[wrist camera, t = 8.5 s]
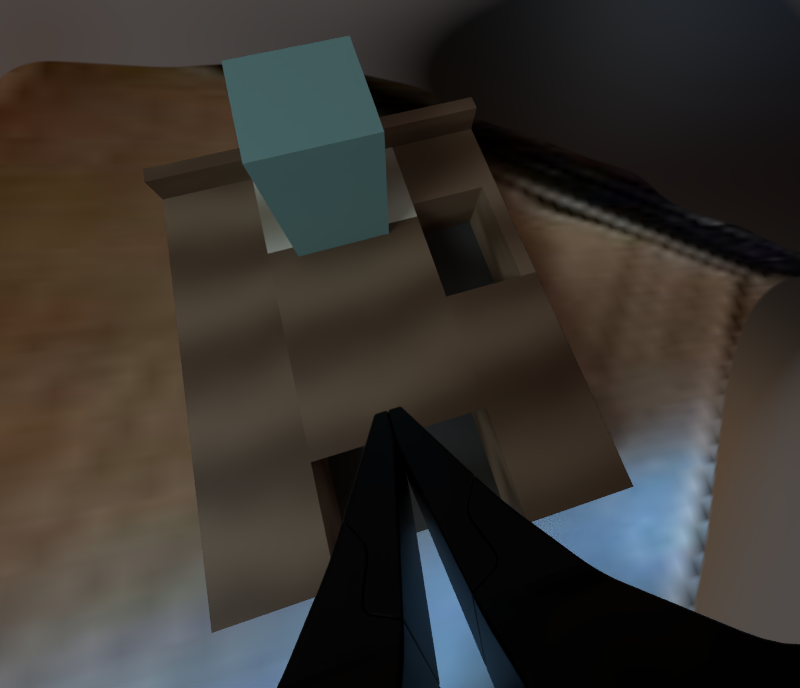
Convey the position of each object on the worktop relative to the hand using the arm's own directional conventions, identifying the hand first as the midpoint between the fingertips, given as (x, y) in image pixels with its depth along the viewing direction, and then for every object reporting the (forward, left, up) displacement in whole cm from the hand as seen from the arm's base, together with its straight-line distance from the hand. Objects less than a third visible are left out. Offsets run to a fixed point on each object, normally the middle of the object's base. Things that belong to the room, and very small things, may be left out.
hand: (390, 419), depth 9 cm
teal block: (+14, 0, -7) cm, 16 cm away
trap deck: (+6, 0, -12) cm, 13 cm away
